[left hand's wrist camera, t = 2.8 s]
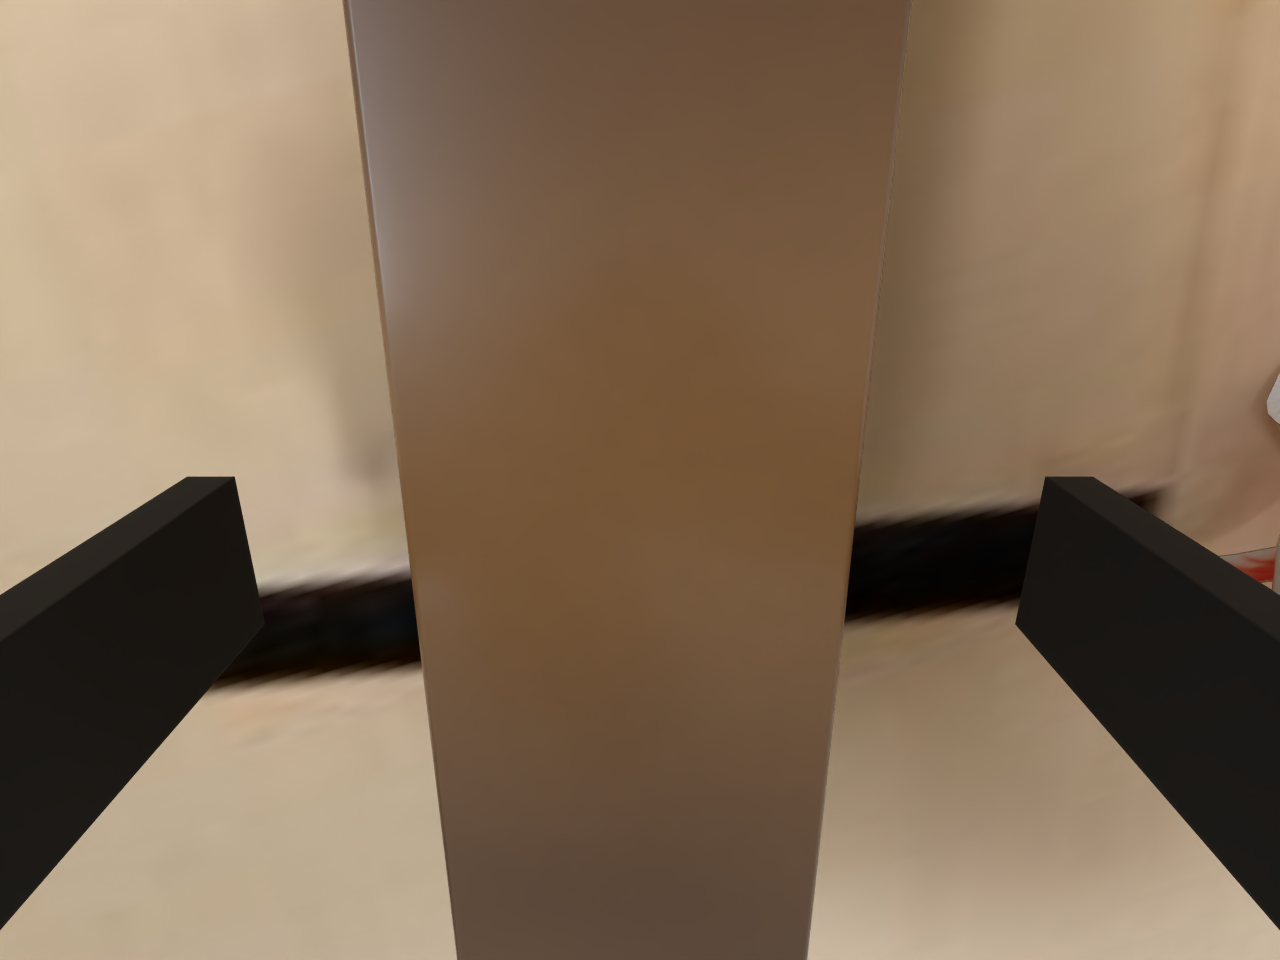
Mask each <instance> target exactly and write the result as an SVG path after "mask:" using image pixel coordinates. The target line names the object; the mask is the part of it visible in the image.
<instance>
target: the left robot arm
mask: <svg viewBox="0 0 1280 960" xmlns="http://www.w3.org/2000/svg"><path fill="white" fill-rule="evenodd" d="M264 625H265V623H264V618H263V613H262V608H261V603H260V599H259V594H258V589H257V584H256V579H255V574H254V569H253V564H252V559H251V555H250V550H249V545H248V540H247V535H246V530H245V525H244V520H243V515H242V511H241V506H240V501H239V496H238V491H237V486H236V481H235V477H186V478H184V479H183V480H181V481H180V482H178V483H177V484H175V485H173V486H172V487H170V488H169V489H167V490H166V491H164V492H162V493H161V494H159V495H158V496H156V497H154V498H153V499H151V500H150V501H148V502H147V503H145V504H143V505H142V506H140V507H139V508H137V509H135V510H134V511H132V512H131V513H129V514H128V515H126V516H124V517H123V518H121V519H120V520H118V521H116V522H115V523H113V524H112V525H110V526H109V527H107V528H105V529H104V530H102V531H101V532H99V533H98V534H96V535H94V536H93V537H91V538H90V539H88V540H86V541H85V542H83V543H82V544H80V545H79V546H77V547H75V548H74V549H72V550H71V551H69V552H67V553H66V554H64V555H63V556H61V557H60V558H58V559H56V560H55V561H53V562H52V563H50V564H49V565H47V566H45V567H44V568H42V569H41V570H39V571H37V572H36V573H34V574H33V575H31V576H30V577H28V578H26V579H25V580H23V581H22V582H20V583H18V584H17V585H15V586H14V587H12V588H11V589H9V590H7V591H6V592H4V593H3V594H1V595H0V930H1V929H2V927H3V926H4V925H5V924H6V923H7V922H8V921H9V919H10V918H11V917H12V916H13V915H14V914H15V912H16V911H17V910H18V909H19V908H20V907H21V905H22V904H23V903H24V902H25V901H26V900H27V899H28V897H29V896H30V895H31V894H32V893H33V892H34V890H35V889H36V888H37V887H38V886H39V885H40V884H41V882H42V881H43V880H44V879H45V878H46V877H47V875H48V874H49V873H50V872H51V871H52V870H53V868H54V867H55V866H56V865H57V864H58V863H59V862H60V860H61V859H62V858H63V857H64V856H65V855H66V853H67V852H68V851H69V850H70V849H71V848H72V847H73V845H74V844H75V843H76V842H77V841H78V840H79V838H80V837H81V836H82V835H83V834H84V833H85V831H86V830H87V829H88V828H89V827H90V826H91V825H92V823H93V822H94V821H95V820H96V819H97V818H98V816H99V815H100V814H101V813H102V812H103V811H104V810H105V808H106V807H107V806H108V805H109V804H110V803H111V801H112V800H113V799H114V798H115V797H116V796H117V794H118V793H119V792H120V791H121V790H122V789H123V788H124V786H125V785H126V784H127V783H128V782H129V781H130V779H131V778H132V777H133V776H134V775H135V774H136V773H137V771H138V770H139V769H140V768H141V767H142V766H143V764H144V763H145V762H146V761H147V760H148V759H149V757H150V756H151V755H152V754H153V753H154V752H155V751H156V749H157V748H158V747H159V746H160V745H161V744H162V742H163V741H164V740H165V739H166V738H167V737H168V736H169V734H170V733H171V732H172V731H173V730H174V729H175V727H176V726H177V725H178V724H179V723H180V722H181V720H182V719H183V718H184V717H185V716H186V715H187V714H188V712H189V711H190V710H191V709H192V708H193V707H194V705H195V704H196V703H197V702H198V701H199V700H200V699H201V697H202V696H203V695H204V694H205V693H206V692H207V690H208V689H209V688H210V687H211V686H212V685H213V683H214V682H215V681H216V680H217V679H218V678H219V677H220V675H221V674H222V673H223V672H224V671H225V670H226V668H227V667H228V666H229V665H230V664H231V663H232V662H233V660H234V659H235V658H236V657H237V656H238V655H239V653H240V652H241V651H242V650H243V649H244V648H245V646H246V645H247V644H248V643H249V642H250V641H251V640H252V638H253V637H254V636H255V635H256V634H257V633H258V631H259V630H260V629H261V628H262V627H263V626H264ZM1015 625H1016V626H1017V627H1018V628H1019V629H1020V630H1021V631H1022V633H1023V634H1024V635H1025V636H1026V637H1027V638H1028V640H1029V641H1030V642H1031V643H1032V644H1033V645H1034V646H1035V648H1036V649H1037V650H1038V651H1039V652H1040V653H1041V655H1042V656H1043V657H1044V658H1045V659H1046V660H1047V662H1048V663H1049V664H1050V665H1051V666H1052V667H1053V668H1054V670H1055V671H1056V672H1057V673H1058V674H1059V675H1060V677H1061V678H1062V679H1063V680H1064V681H1065V682H1066V683H1067V685H1068V686H1069V687H1070V688H1071V689H1072V690H1073V692H1074V693H1075V694H1076V695H1077V696H1078V697H1079V699H1080V700H1081V701H1082V702H1083V703H1084V704H1085V705H1086V707H1087V708H1088V709H1089V710H1090V711H1091V712H1092V714H1093V715H1094V716H1095V717H1096V718H1097V719H1098V720H1099V722H1100V723H1101V724H1102V725H1103V726H1104V727H1105V729H1106V730H1107V731H1108V732H1109V733H1110V734H1111V736H1112V737H1113V738H1114V739H1115V740H1116V741H1117V742H1118V744H1119V745H1120V746H1121V747H1122V748H1123V749H1124V751H1125V752H1126V753H1127V754H1128V755H1129V756H1130V757H1131V759H1132V760H1133V761H1134V762H1135V763H1136V764H1137V766H1138V767H1139V768H1140V769H1141V770H1142V771H1143V773H1144V774H1145V775H1146V776H1147V777H1148V778H1149V779H1150V781H1151V782H1152V783H1153V784H1154V785H1155V786H1156V788H1157V789H1158V790H1159V791H1160V792H1161V793H1162V794H1163V796H1164V797H1165V798H1166V799H1167V800H1168V801H1169V803H1170V804H1171V805H1172V806H1173V807H1174V808H1175V810H1176V811H1177V812H1178V813H1179V814H1180V815H1181V816H1182V818H1183V819H1184V820H1185V821H1186V822H1187V823H1188V825H1189V826H1190V827H1191V828H1192V829H1193V830H1194V831H1195V833H1196V834H1197V835H1198V836H1199V837H1200V838H1201V840H1202V841H1203V842H1204V843H1205V844H1206V845H1207V847H1208V848H1209V849H1210V850H1211V851H1212V852H1213V853H1214V855H1215V856H1216V857H1217V858H1218V859H1219V860H1220V862H1221V863H1222V864H1223V865H1224V866H1225V867H1226V868H1227V870H1228V871H1229V872H1230V873H1231V874H1232V875H1233V877H1234V878H1235V879H1236V880H1237V881H1238V882H1239V884H1240V885H1241V886H1242V887H1243V888H1244V889H1245V890H1246V892H1247V893H1248V894H1249V895H1250V896H1251V897H1252V899H1253V900H1254V901H1255V902H1256V903H1257V904H1258V905H1259V907H1260V908H1261V909H1262V910H1263V911H1264V912H1265V914H1266V915H1267V916H1268V917H1269V918H1270V919H1271V921H1272V922H1273V923H1274V924H1275V925H1276V926H1277V927H1278V929H1279V930H1280V595H1279V594H1277V593H1276V592H1274V591H1273V590H1271V589H1269V588H1268V587H1266V586H1265V585H1263V584H1262V583H1260V582H1258V581H1257V580H1255V579H1254V578H1252V577H1250V576H1249V575H1247V574H1246V573H1244V572H1243V571H1241V570H1239V569H1238V568H1236V567H1235V566H1233V565H1231V564H1230V563H1228V562H1227V561H1225V560H1224V559H1222V558H1220V557H1219V556H1217V555H1216V554H1214V553H1213V552H1211V551H1209V550H1208V549H1206V548H1205V547H1203V546H1201V545H1200V544H1198V543H1197V542H1195V541H1194V540H1192V539H1190V538H1189V537H1187V536H1186V535H1184V534H1182V533H1181V532H1179V531H1178V530H1176V529H1175V528H1173V527H1171V526H1170V525H1168V524H1167V523H1165V522H1164V521H1162V520H1160V519H1159V518H1157V517H1156V516H1154V515H1152V514H1151V513H1149V512H1148V511H1146V510H1145V509H1143V508H1141V507H1140V506H1138V505H1137V504H1135V503H1133V502H1132V501H1130V500H1129V499H1127V498H1126V497H1124V496H1122V495H1121V494H1119V493H1118V492H1116V491H1114V490H1113V489H1111V488H1110V487H1108V486H1107V485H1105V484H1103V483H1102V482H1100V481H1099V480H1097V479H1096V478H1094V477H1045V481H1044V486H1043V491H1042V496H1041V501H1040V506H1039V511H1038V515H1037V520H1036V525H1035V530H1034V535H1033V540H1032V545H1031V550H1030V555H1029V559H1028V564H1027V569H1026V574H1025V579H1024V584H1023V589H1022V594H1021V599H1020V603H1019V608H1018V613H1017V618H1016V623H1015Z"/></svg>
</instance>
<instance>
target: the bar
mask: <svg viewBox="0 0 1280 960" xmlns="http://www.w3.org/2000/svg"><path fill="white" fill-rule="evenodd" d="M342 1H343V10H344V18H345V26H346V35H347V43H348V51H349V60H350V68H351V76H352V85H353V93H354V102H355V110H356V118H357V127H358V135H359V143H360V152H361V160H362V168H363V177H364V185H365V193H366V202H367V210H368V218H369V227H370V235H371V244H372V252H373V260H374V269H375V277H376V285H377V294H378V302H379V310H380V319H381V327H382V335H383V344H384V352H385V360H386V369H387V377H388V386H389V394H390V402H391V411H392V419H393V427H394V436H395V444H396V452H397V461H398V469H399V477H400V486H401V494H402V503H403V511H404V519H405V528H406V536H407V544H408V553H409V561H410V569H411V578H412V586H413V594H414V603H415V611H416V619H417V628H418V636H419V645H420V653H421V661H422V670H423V678H424V686H425V695H426V703H427V711H428V720H429V728H430V736H431V745H432V753H433V761H434V770H435V778H436V787H437V795H438V803H439V812H440V820H441V828H442V837H443V845H444V853H445V862H446V870H447V878H448V887H449V895H450V903H451V912H452V920H453V929H454V937H455V945H456V954H457V960H807V956H808V947H809V938H810V929H811V920H812V911H813V901H814V892H815V883H816V874H817V865H818V856H819V847H820V837H821V828H822V819H823V810H824V801H825V792H826V783H827V773H828V764H829V755H830V746H831V737H832V728H833V719H834V709H835V700H836V691H837V682H838V673H839V664H840V655H841V645H842V636H843V627H844V618H845V609H846V600H847V591H848V581H849V572H850V563H851V554H852V545H853V536H854V527H855V517H856V508H857V499H858V490H859V481H860V472H861V463H862V453H863V444H864V435H865V426H866V417H867V408H868V399H869V389H870V380H871V371H872V362H873V353H874V344H875V334H876V325H877V316H878V307H879V298H880V289H881V280H882V270H883V261H884V252H885V243H886V234H887V225H888V216H889V206H890V197H891V188H892V179H893V170H894V161H895V152H896V142H897V133H898V124H899V115H900V106H901V97H902V88H903V78H904V69H905V60H906V51H907V42H908V33H909V24H910V14H911V5H912V0H342Z"/></svg>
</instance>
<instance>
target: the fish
mask: <svg viewBox="0 0 1280 960" xmlns="http://www.w3.org/2000/svg"><path fill="white" fill-rule="evenodd" d="M1266 402H1267V410H1268V414H1269V415H1270V416H1271V417H1272V418H1273V419H1274V420H1275V421H1276V422H1277V423H1279V424H1280V373H1279V375H1278V377H1277V380H1276V382H1275V384H1274V386H1273V388H1272V391H1271V393H1270V395H1269V397H1268V399H1267V401H1266ZM1219 557H1220V558H1222V559H1224V560H1225V561H1227V562H1228V563H1230V564H1231V565H1233V566H1235V567H1236V568H1238V569H1239V570H1241V571H1243V572H1244V573H1246V574H1247V575H1249V576H1250V577H1252V578H1254V579H1255V580H1257V581H1258V582H1260V583H1264V582H1270V581H1273V583H1272V589H1271V590H1273V591H1274V592H1276V593H1277V594H1279V595H1280V536H1279V539H1278V543H1277V546H1276V547H1271V548H1266V549H1260V550H1255V551H1249V552H1244V553H1239V554H1233V555H1224V556H1219Z"/></svg>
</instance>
